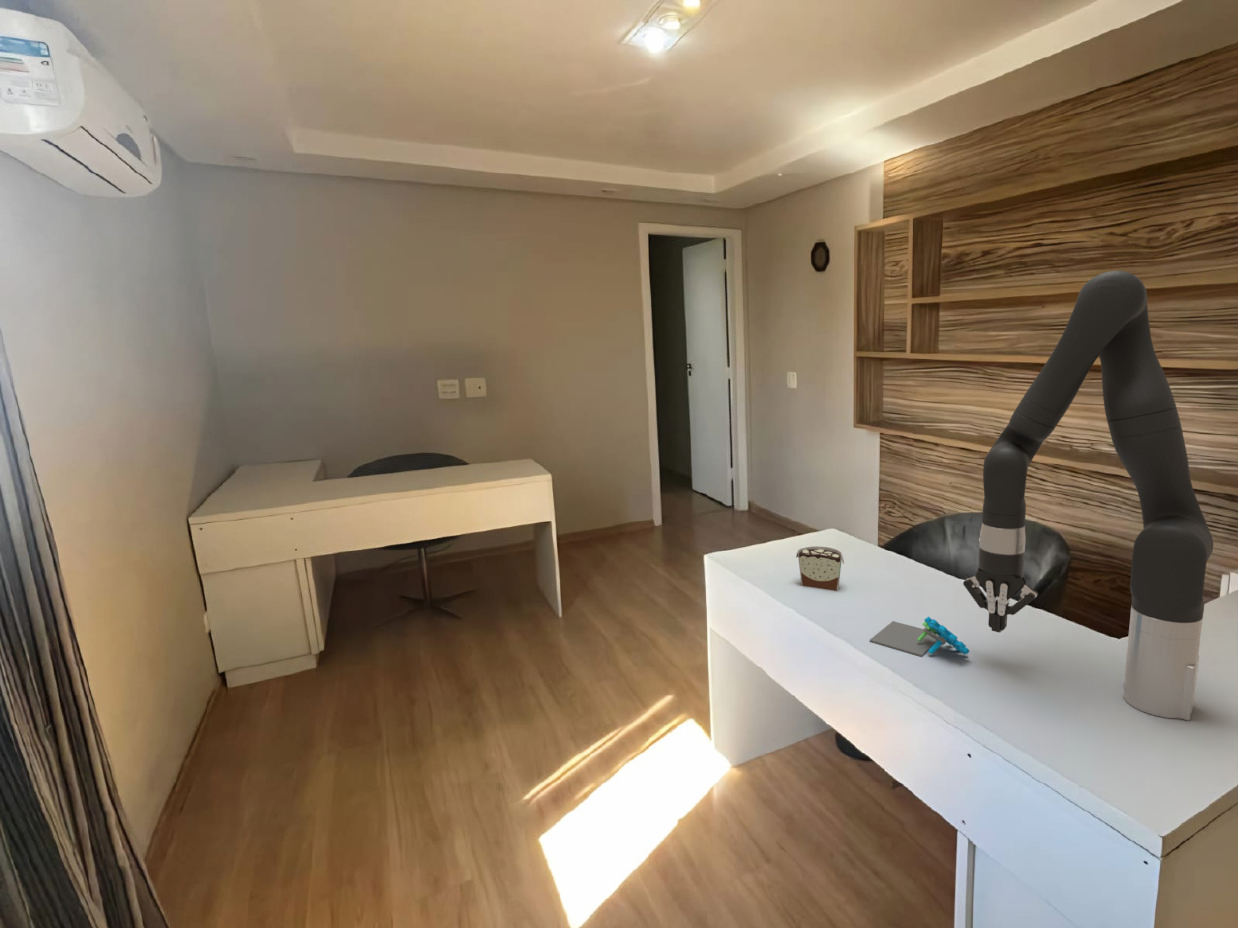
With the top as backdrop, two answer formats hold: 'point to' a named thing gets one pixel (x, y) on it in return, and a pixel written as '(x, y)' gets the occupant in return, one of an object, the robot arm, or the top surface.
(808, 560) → the food container
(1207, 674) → the top surface
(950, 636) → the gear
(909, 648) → the mat
